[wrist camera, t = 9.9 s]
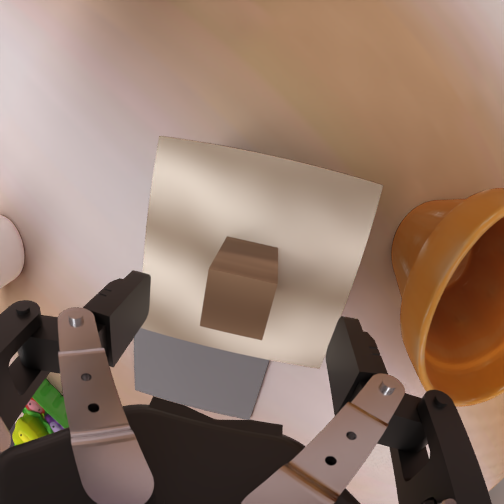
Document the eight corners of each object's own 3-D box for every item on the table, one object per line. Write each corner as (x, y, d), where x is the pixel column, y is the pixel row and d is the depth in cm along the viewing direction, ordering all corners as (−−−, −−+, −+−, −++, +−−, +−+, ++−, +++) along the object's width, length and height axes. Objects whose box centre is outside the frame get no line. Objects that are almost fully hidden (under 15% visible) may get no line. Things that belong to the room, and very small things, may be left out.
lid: (164, 136, 17) (117, 134, 12) (378, 183, 17) (419, 200, 12) (144, 321, 21) (109, 370, 16) (318, 361, 21) (326, 420, 16)
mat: (137, 287, 29) (135, 289, 28) (280, 322, 28) (280, 325, 28) (136, 387, 33) (135, 389, 33) (249, 416, 33) (249, 419, 33)
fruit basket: (93, 417, 37) (61, 471, 26) (71, 428, 39) (42, 473, 29) (38, 364, 35) (-4, 411, 24) (22, 381, 37) (-13, 422, 26)
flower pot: (499, 274, 25) (573, 336, 13) (390, 339, 28) (434, 436, 16) (466, 146, 22) (570, 160, 9) (336, 215, 25) (386, 279, 13)
